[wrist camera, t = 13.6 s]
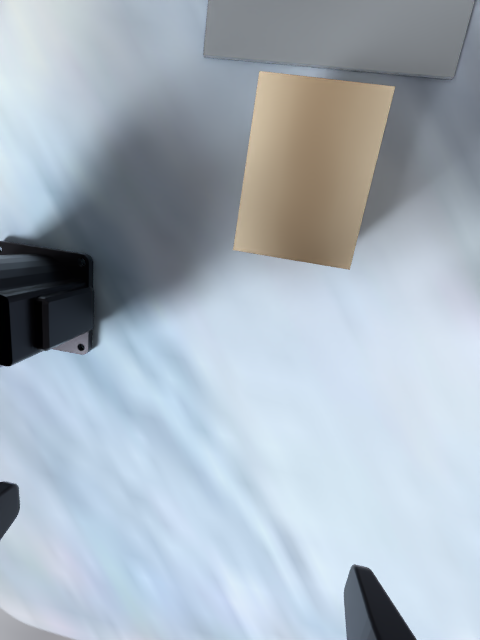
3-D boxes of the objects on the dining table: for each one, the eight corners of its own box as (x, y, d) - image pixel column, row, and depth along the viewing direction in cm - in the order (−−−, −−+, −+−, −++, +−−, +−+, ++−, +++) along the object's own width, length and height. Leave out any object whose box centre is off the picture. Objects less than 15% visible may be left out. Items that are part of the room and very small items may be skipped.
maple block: (249, 247, 18) (233, 249, 12) (268, 130, 16) (259, 71, 11) (327, 260, 17) (349, 269, 12) (354, 142, 16) (395, 86, 10)
